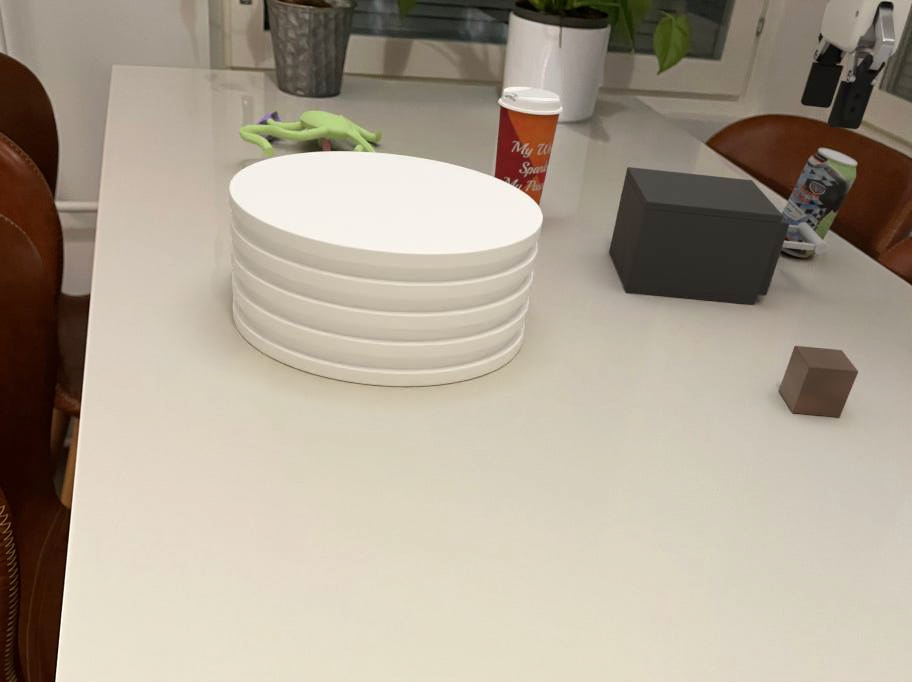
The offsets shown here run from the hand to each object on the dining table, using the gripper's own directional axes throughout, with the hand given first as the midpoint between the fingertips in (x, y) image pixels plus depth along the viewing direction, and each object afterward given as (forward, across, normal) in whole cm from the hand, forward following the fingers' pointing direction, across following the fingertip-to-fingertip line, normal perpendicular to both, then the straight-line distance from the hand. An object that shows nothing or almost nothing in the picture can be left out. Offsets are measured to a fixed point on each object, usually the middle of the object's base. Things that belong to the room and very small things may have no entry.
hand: (828, 115), depth 102 cm
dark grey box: (+18, 0, +11) cm, 21 cm away
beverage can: (+18, +13, -7) cm, 23 cm away
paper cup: (+18, +16, +29) cm, 38 cm away
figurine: (+18, +32, +55) cm, 66 cm away
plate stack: (+18, -20, +45) cm, 53 cm away
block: (+18, -30, +5) cm, 35 cm away
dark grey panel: (+17, 0, +6) cm, 18 cm away
